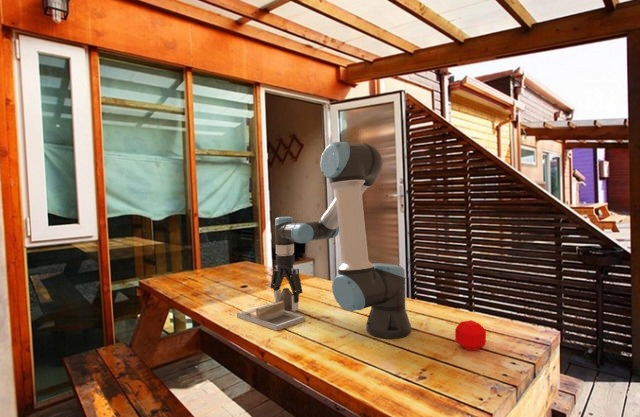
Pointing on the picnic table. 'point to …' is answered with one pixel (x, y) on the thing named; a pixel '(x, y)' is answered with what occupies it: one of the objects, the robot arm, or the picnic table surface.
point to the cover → (265, 310)
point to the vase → (286, 298)
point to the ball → (470, 335)
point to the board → (275, 320)
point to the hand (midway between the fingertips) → (286, 307)
